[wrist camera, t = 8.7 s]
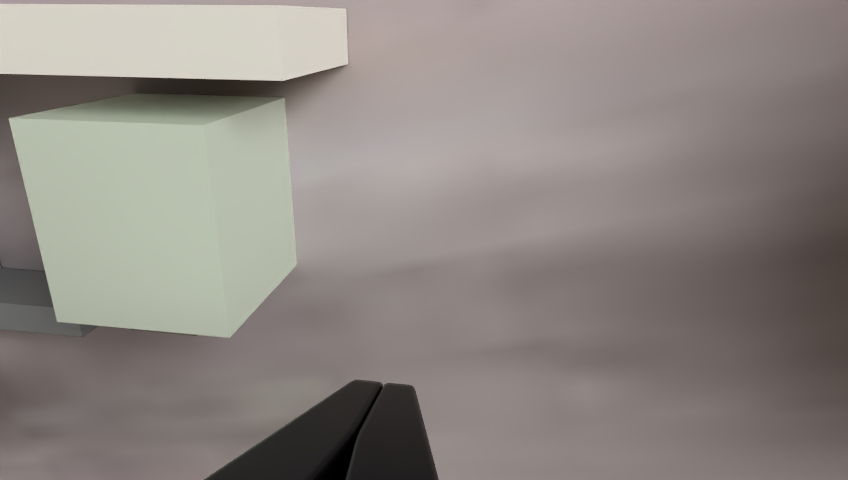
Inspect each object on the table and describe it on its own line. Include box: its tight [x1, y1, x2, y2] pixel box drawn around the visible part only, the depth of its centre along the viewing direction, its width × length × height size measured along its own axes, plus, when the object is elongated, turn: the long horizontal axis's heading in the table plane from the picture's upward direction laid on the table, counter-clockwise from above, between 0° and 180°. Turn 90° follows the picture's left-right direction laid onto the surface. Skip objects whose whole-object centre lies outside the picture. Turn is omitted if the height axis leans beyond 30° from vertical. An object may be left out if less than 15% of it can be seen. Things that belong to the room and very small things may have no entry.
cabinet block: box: [9, 93, 297, 338], centre depth 17 cm, size 6×5×5 cm
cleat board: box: [0, 4, 348, 337], centre depth 17 cm, size 10×14×5 cm
